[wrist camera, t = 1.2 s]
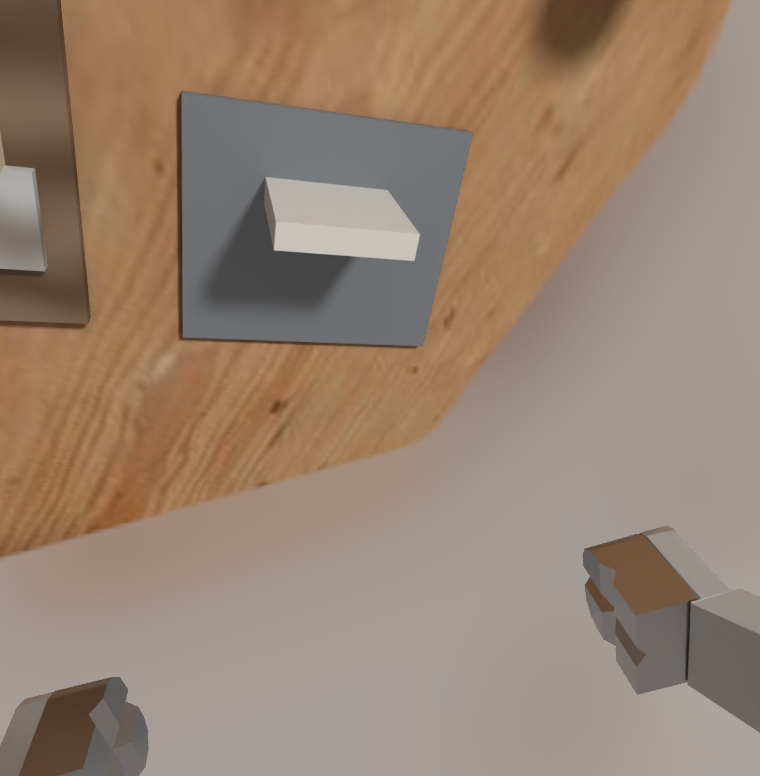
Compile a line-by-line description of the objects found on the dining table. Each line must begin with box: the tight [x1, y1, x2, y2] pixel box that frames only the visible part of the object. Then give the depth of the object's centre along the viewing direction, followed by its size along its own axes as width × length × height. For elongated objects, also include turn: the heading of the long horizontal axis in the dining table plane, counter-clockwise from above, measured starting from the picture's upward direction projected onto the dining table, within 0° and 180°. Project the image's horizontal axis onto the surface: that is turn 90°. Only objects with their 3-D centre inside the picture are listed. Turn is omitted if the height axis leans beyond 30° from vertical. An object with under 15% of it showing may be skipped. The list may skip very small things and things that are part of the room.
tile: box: [264, 177, 420, 261], centre depth 37 cm, size 2×8×8 cm, turn 80°
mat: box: [182, 91, 473, 346], centre depth 42 cm, size 16×18×1 cm
